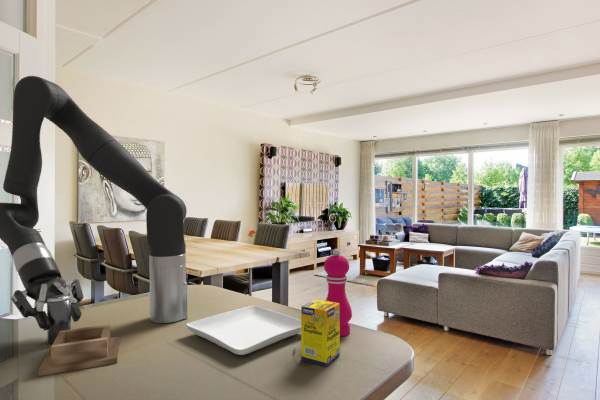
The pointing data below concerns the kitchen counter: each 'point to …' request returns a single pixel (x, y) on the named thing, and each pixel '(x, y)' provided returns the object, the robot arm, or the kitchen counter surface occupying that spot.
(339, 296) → the pepper mill
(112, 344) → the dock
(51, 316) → the dark grey piece
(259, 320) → the salad plate
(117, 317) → the kitchen counter surface
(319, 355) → the supplement box
